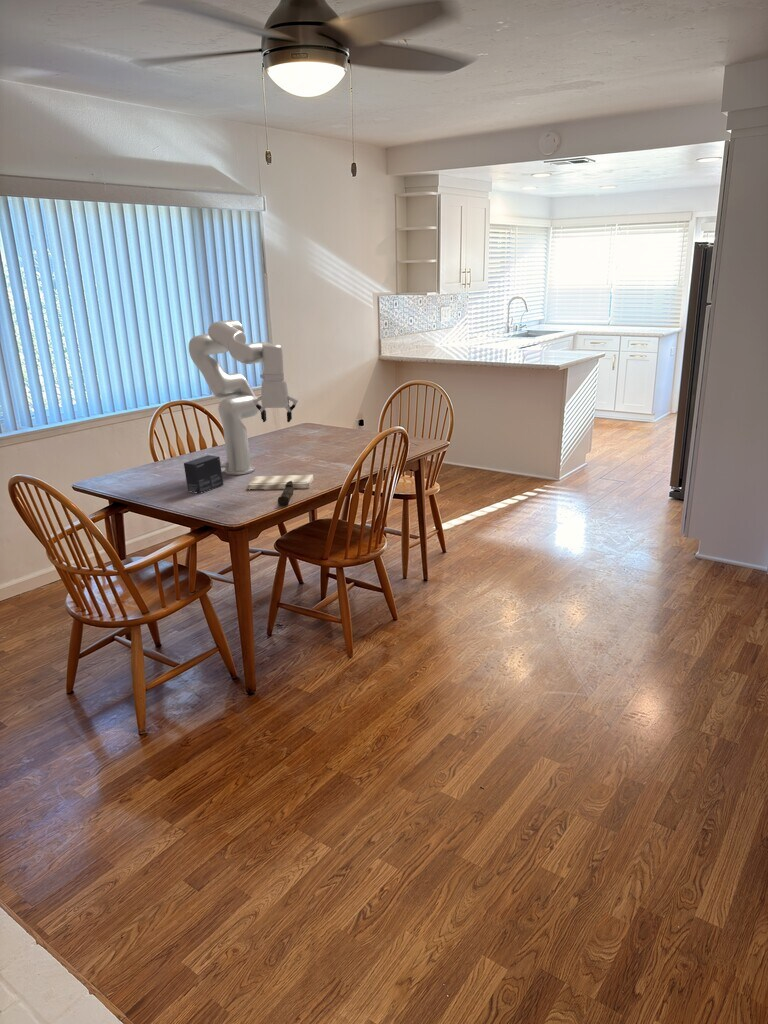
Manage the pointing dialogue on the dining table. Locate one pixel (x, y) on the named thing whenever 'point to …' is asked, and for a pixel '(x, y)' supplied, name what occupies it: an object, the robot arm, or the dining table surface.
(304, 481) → the birch board
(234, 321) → the robot arm
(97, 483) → the dining table surface
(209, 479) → the small box
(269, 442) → the dining table surface
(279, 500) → the hand tool
